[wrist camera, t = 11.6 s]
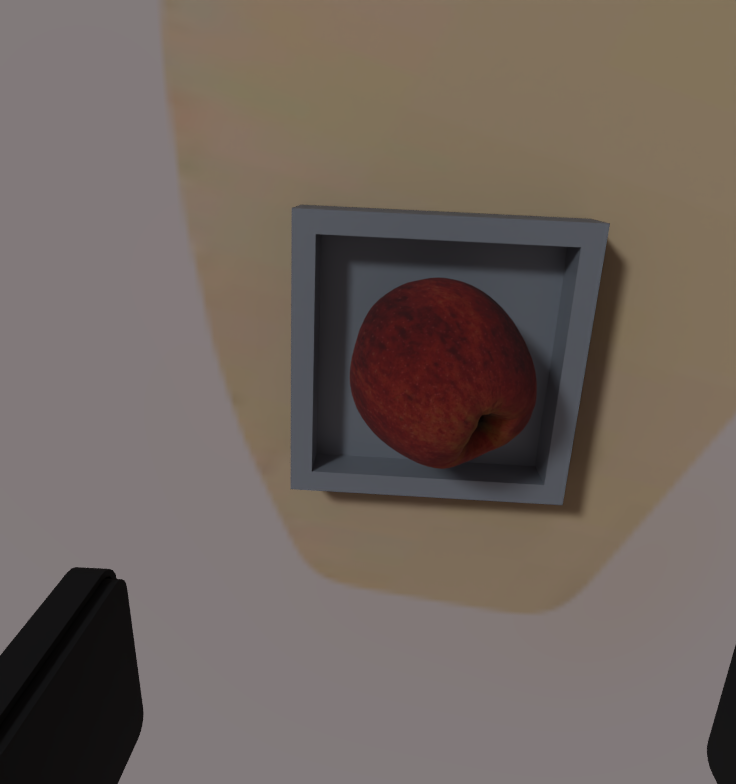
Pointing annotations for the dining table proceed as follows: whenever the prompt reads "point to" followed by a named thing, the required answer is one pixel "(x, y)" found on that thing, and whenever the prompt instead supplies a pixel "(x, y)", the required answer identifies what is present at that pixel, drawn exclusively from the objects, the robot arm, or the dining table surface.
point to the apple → (442, 373)
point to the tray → (438, 260)
